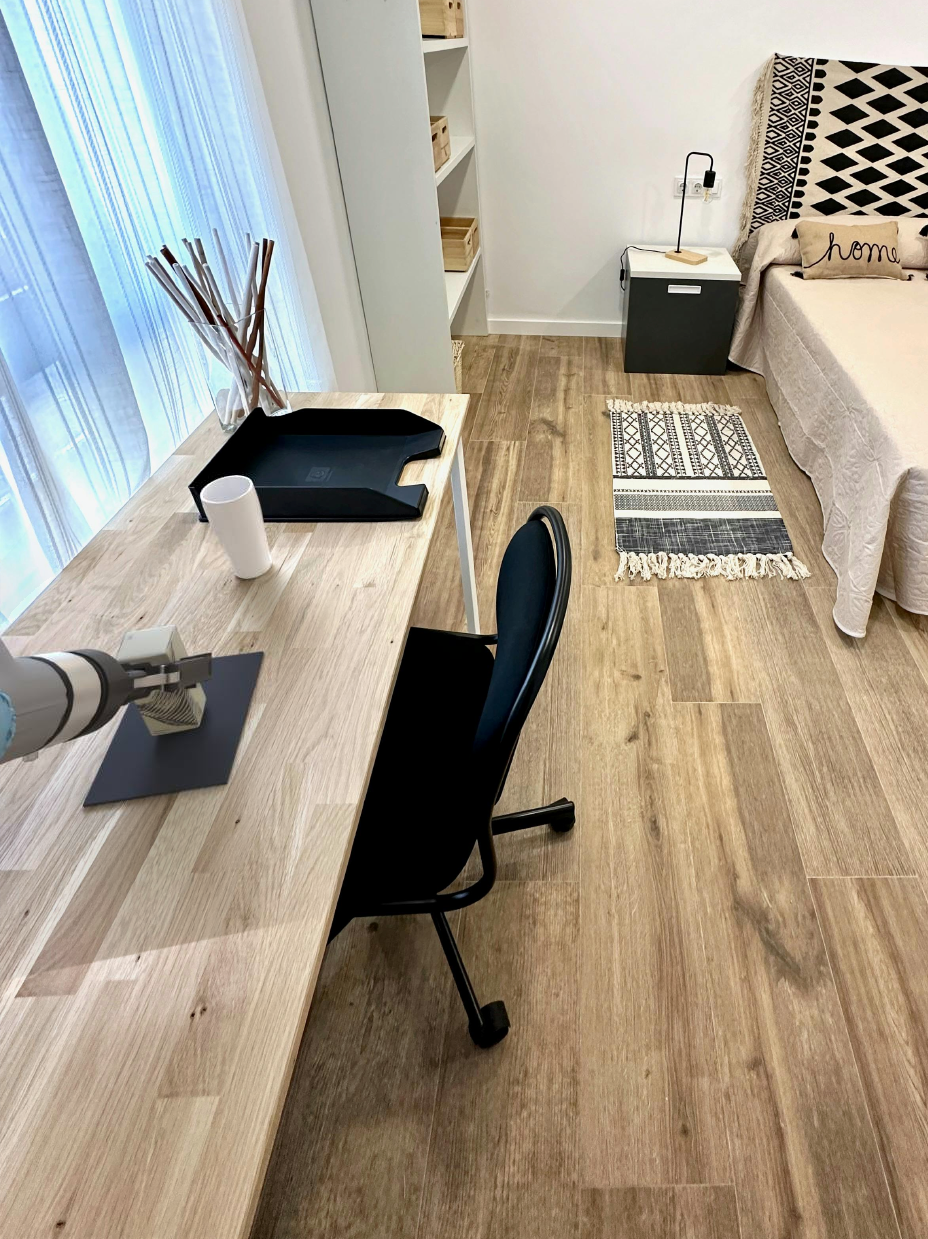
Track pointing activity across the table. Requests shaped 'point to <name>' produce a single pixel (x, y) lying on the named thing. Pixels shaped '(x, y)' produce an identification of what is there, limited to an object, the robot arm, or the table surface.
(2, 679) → the robot arm
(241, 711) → the dark blue mat
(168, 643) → the box
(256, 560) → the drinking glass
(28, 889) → the table surface
